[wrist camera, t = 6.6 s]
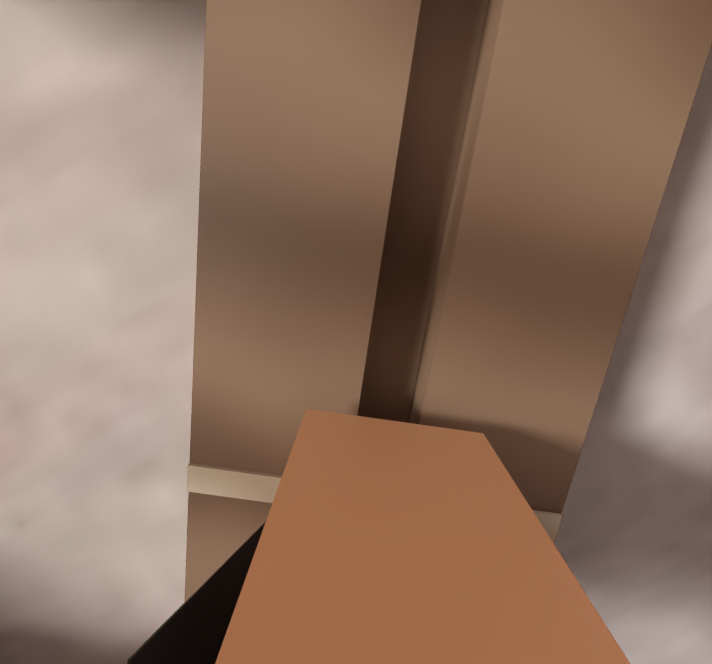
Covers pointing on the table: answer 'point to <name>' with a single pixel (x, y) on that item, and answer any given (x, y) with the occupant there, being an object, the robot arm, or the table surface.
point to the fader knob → (407, 558)
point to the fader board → (421, 227)
